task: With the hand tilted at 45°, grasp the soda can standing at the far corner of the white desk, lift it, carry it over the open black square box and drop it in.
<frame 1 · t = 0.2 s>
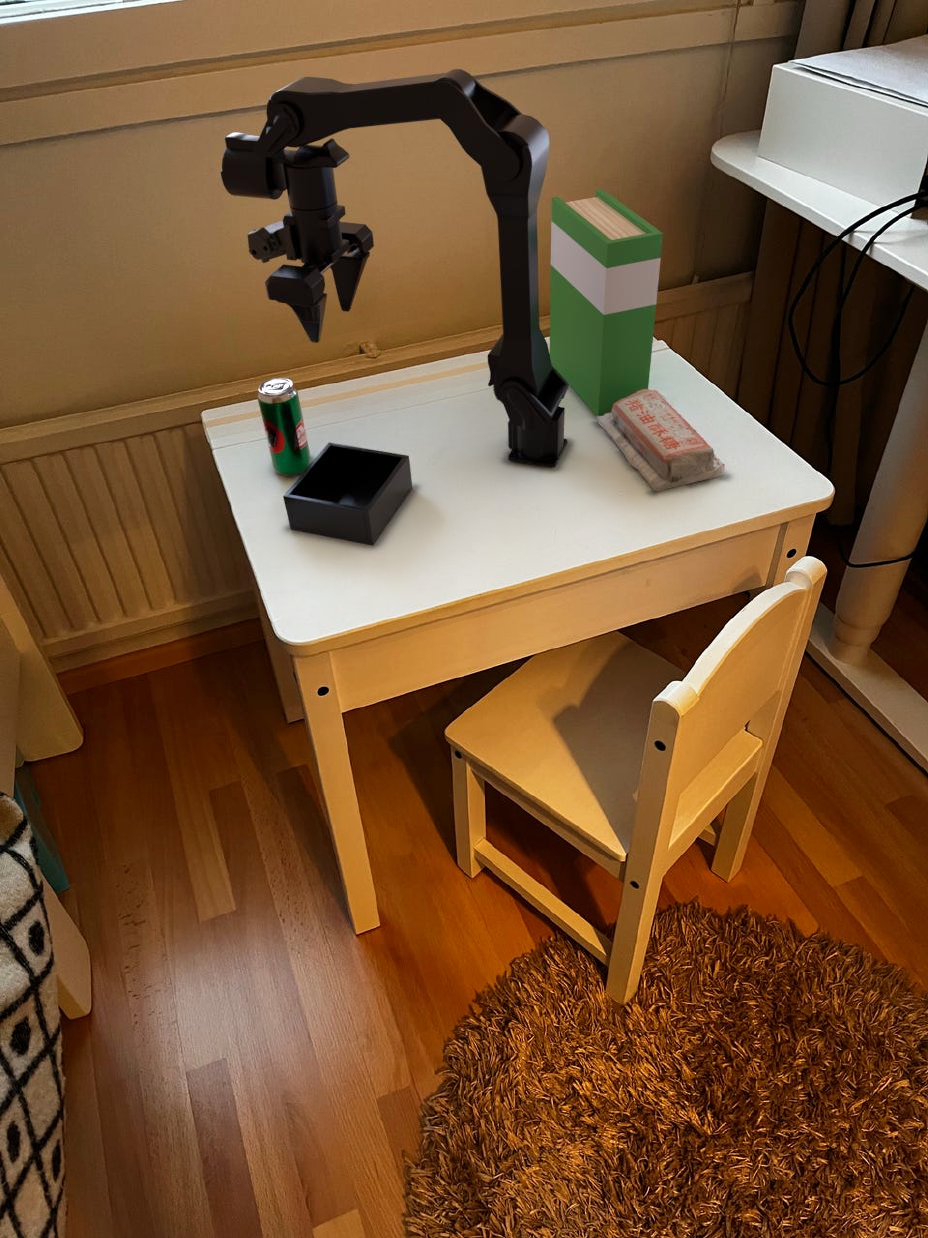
hand: (331, 325, 119), 15 cm above the table, tool pointing down, fingers open, 9 cm apart
soda can: (293, 468, 122), on the table
open black square box: (352, 508, 114), on the table
hardback book: (595, 384, 134), on the table
packaged product: (657, 450, 121), on the table
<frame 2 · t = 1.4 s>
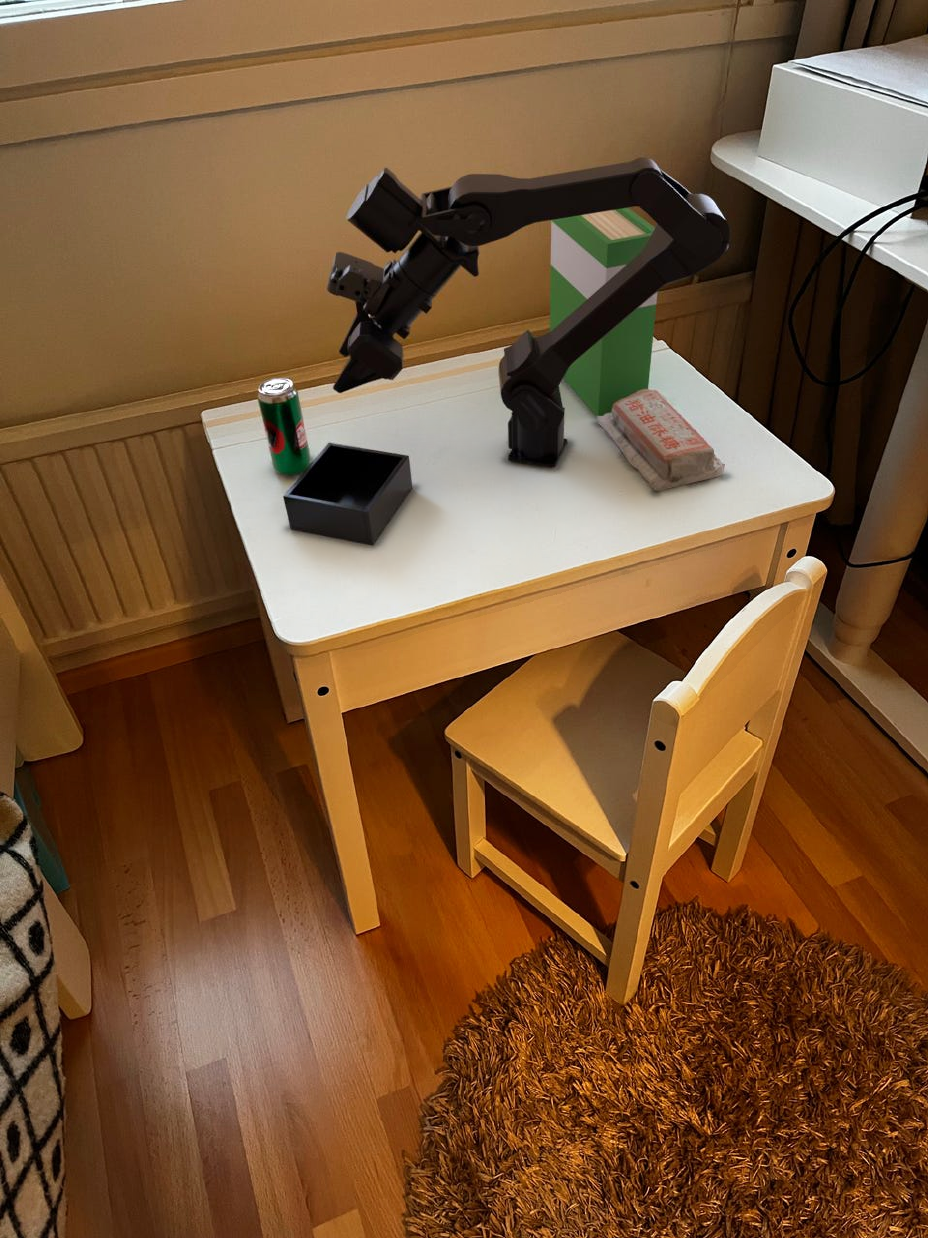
hand: (339, 371, 113), 13 cm above the table, tool tilted 45°, fingers open, 9 cm apart
nothing on the table moved.
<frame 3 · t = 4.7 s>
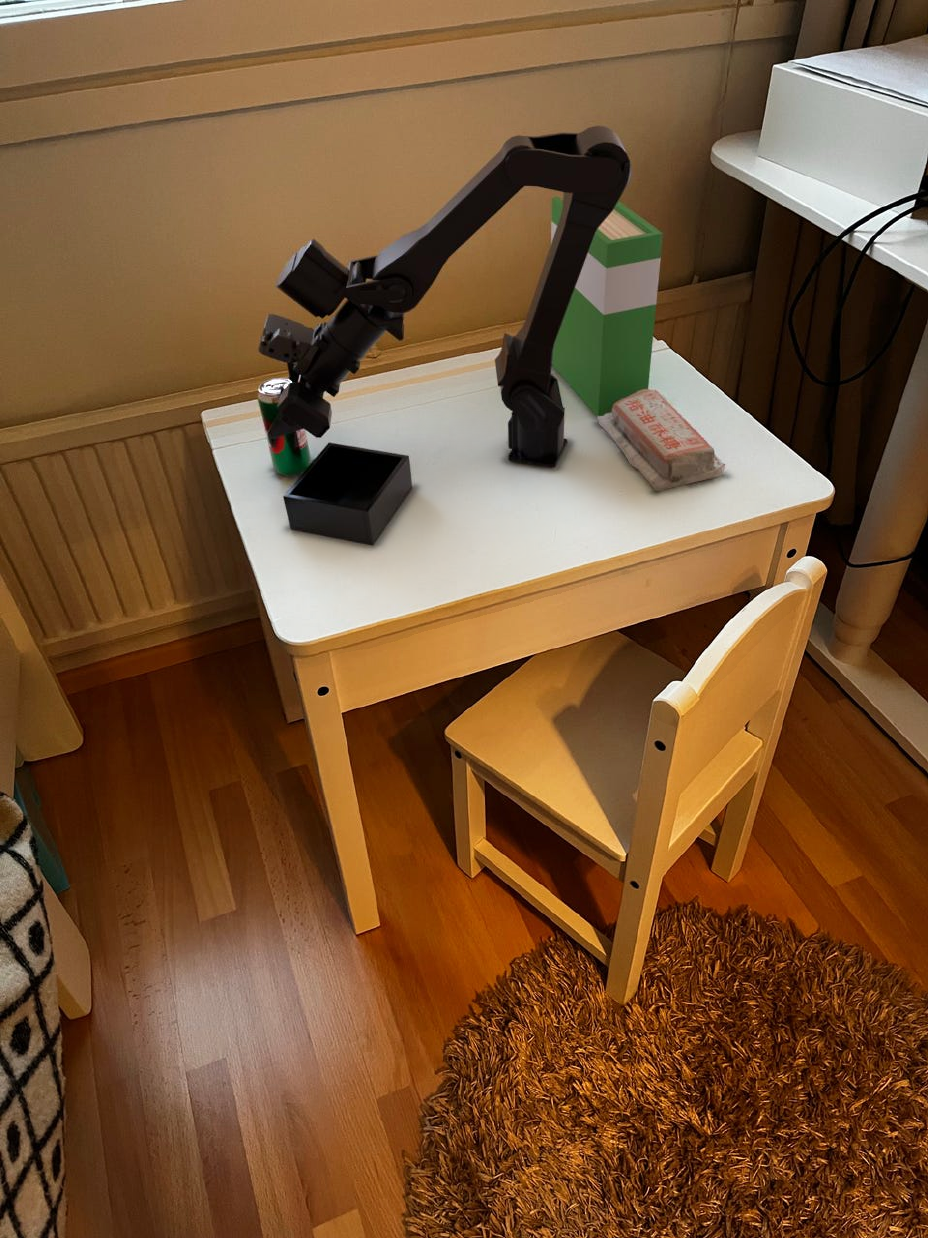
hand: (273, 424, 117), 7 cm above the table, tool tilted 45°, fingers closed on soda can, 5 cm apart
soda can: (293, 468, 122), on the table, touching gripper
everything else where it was.
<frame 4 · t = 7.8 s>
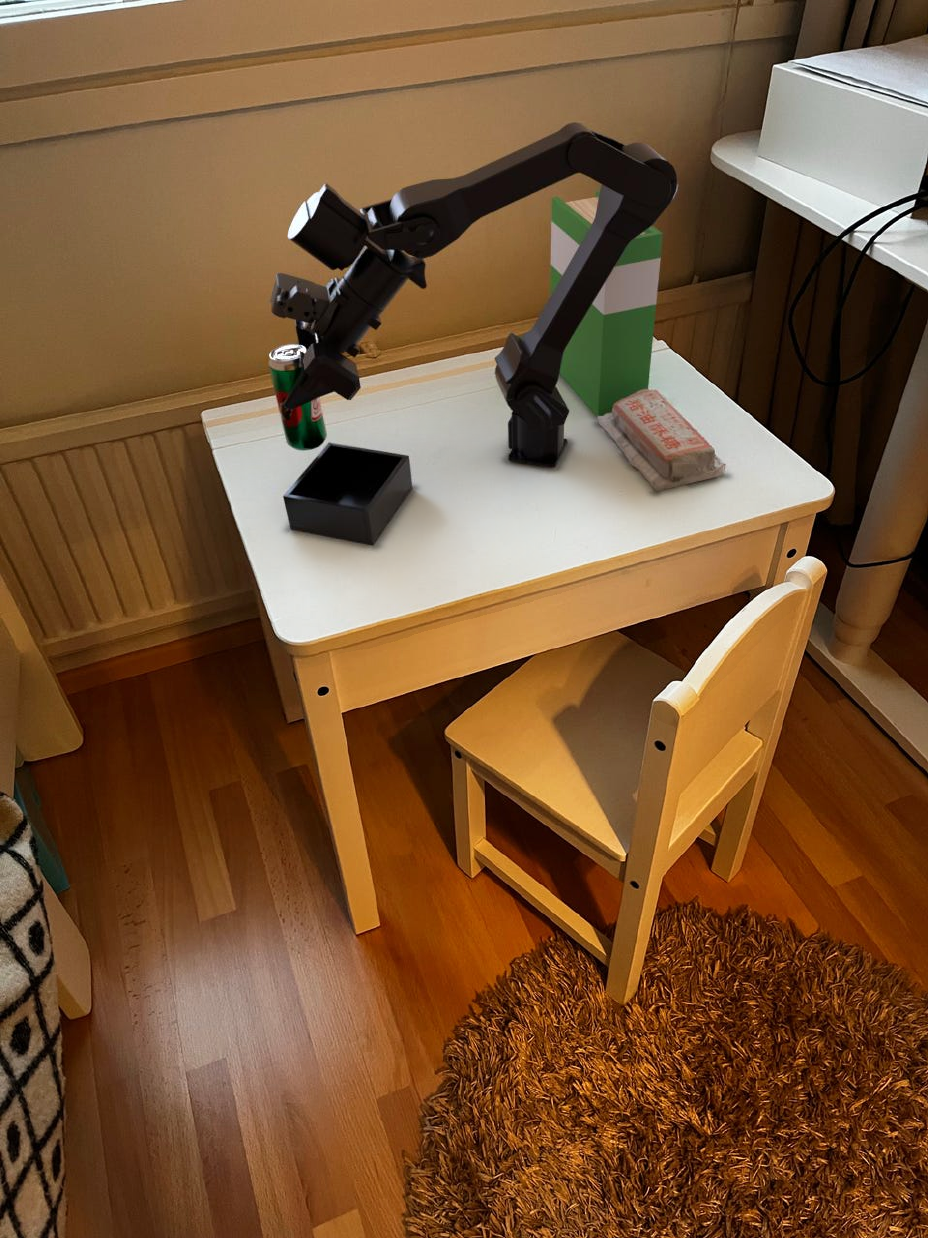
hand: (285, 396, 109), 13 cm above the table, tool tilted 45°, fingers closed on soda can, 5 cm apart
soda can: (307, 442, 114), point 7 cm above the table, touching gripper
everything else where it was.
when the fingers open (7 cm above the table, at t = 11.3 s): soda can stays where it is, resting on open black square box.
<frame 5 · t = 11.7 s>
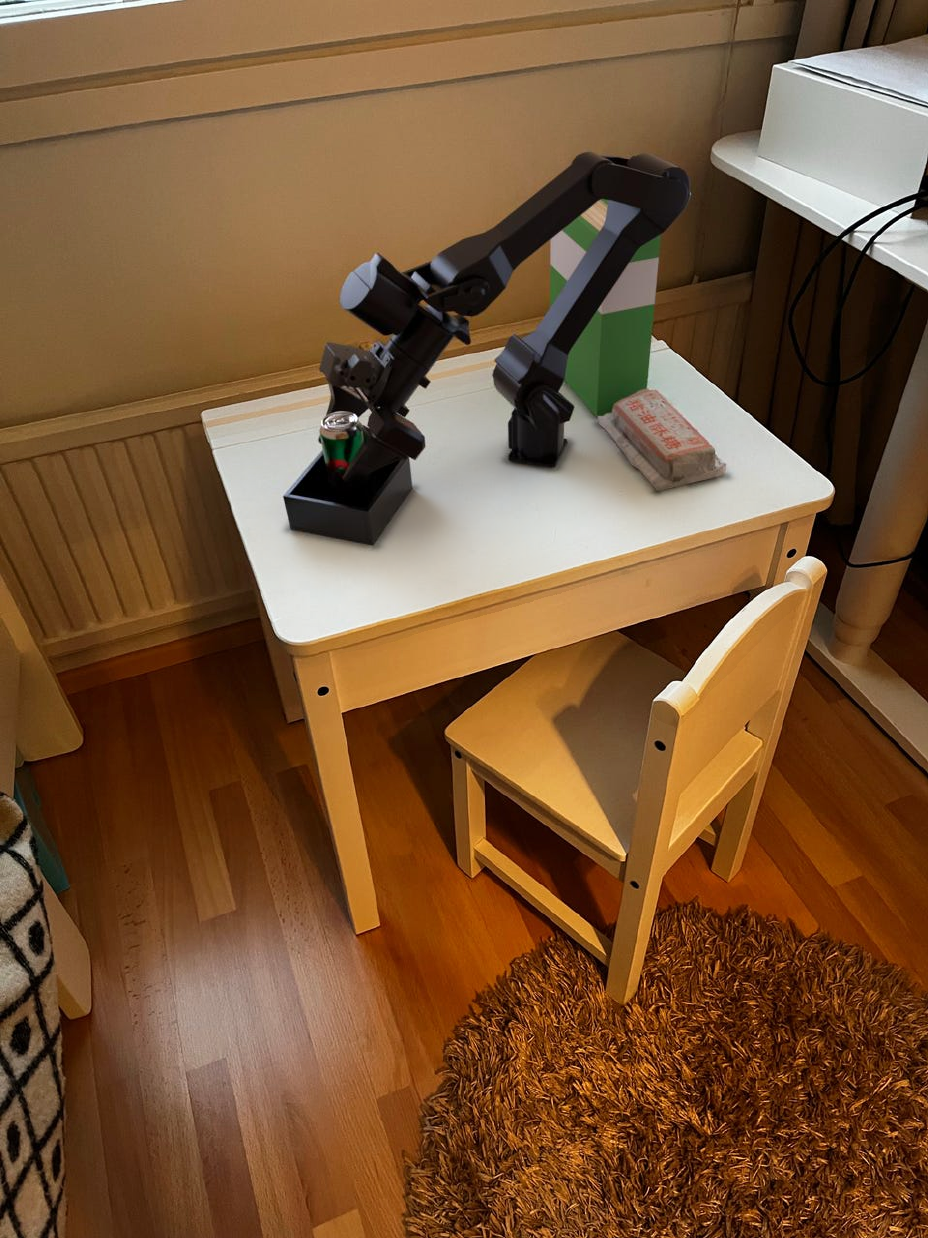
hand: (333, 461, 109), 7 cm above the table, tool tilted 45°, fingers open, 9 cm apart
soda can: (353, 505, 114), resting on open black square box
hardback book: (595, 384, 134), on the table, touching arm
everything else where it was.
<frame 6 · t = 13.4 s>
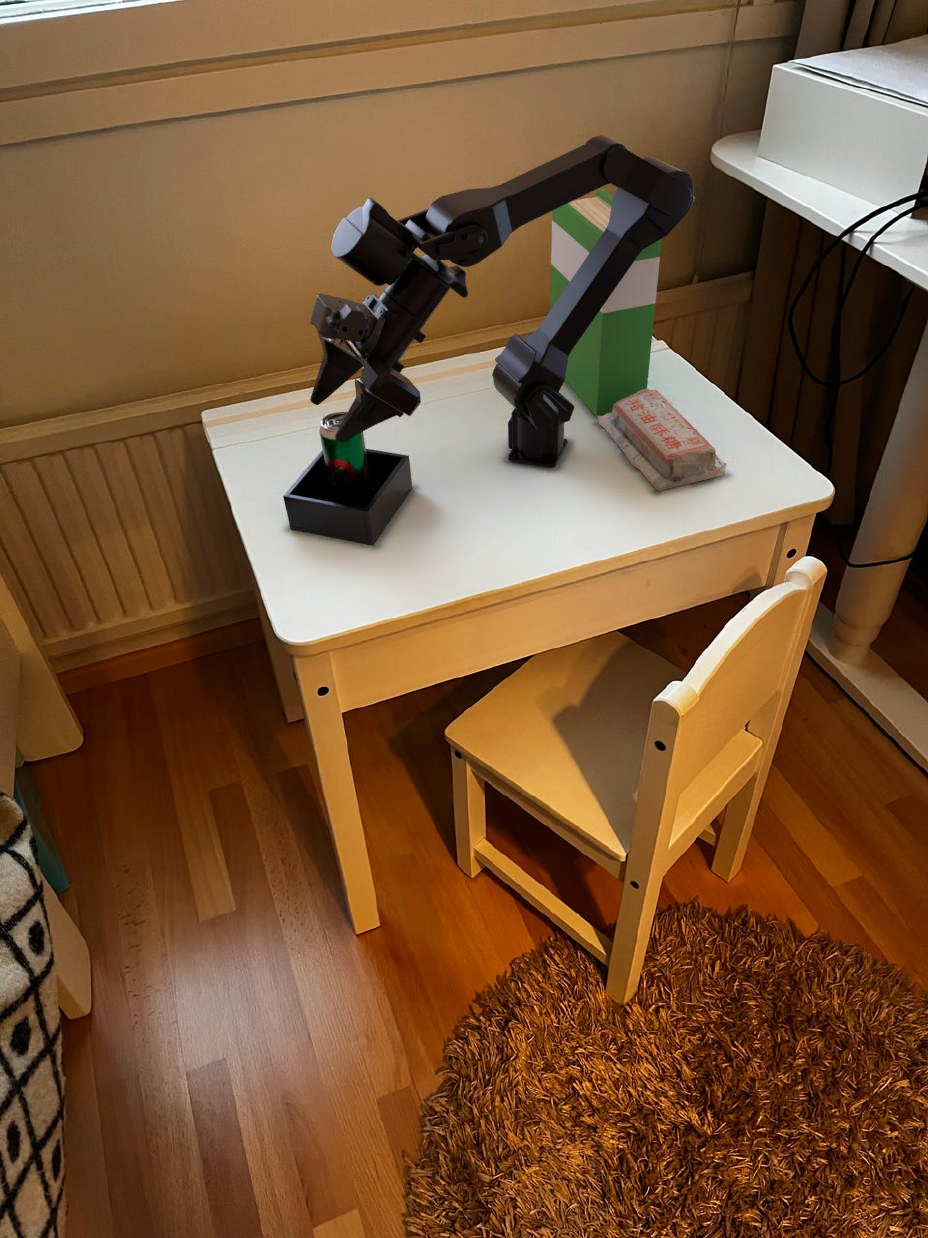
hand: (325, 420, 105), 13 cm above the table, tool tilted 45°, fingers open, 9 cm apart
nothing on the table moved.
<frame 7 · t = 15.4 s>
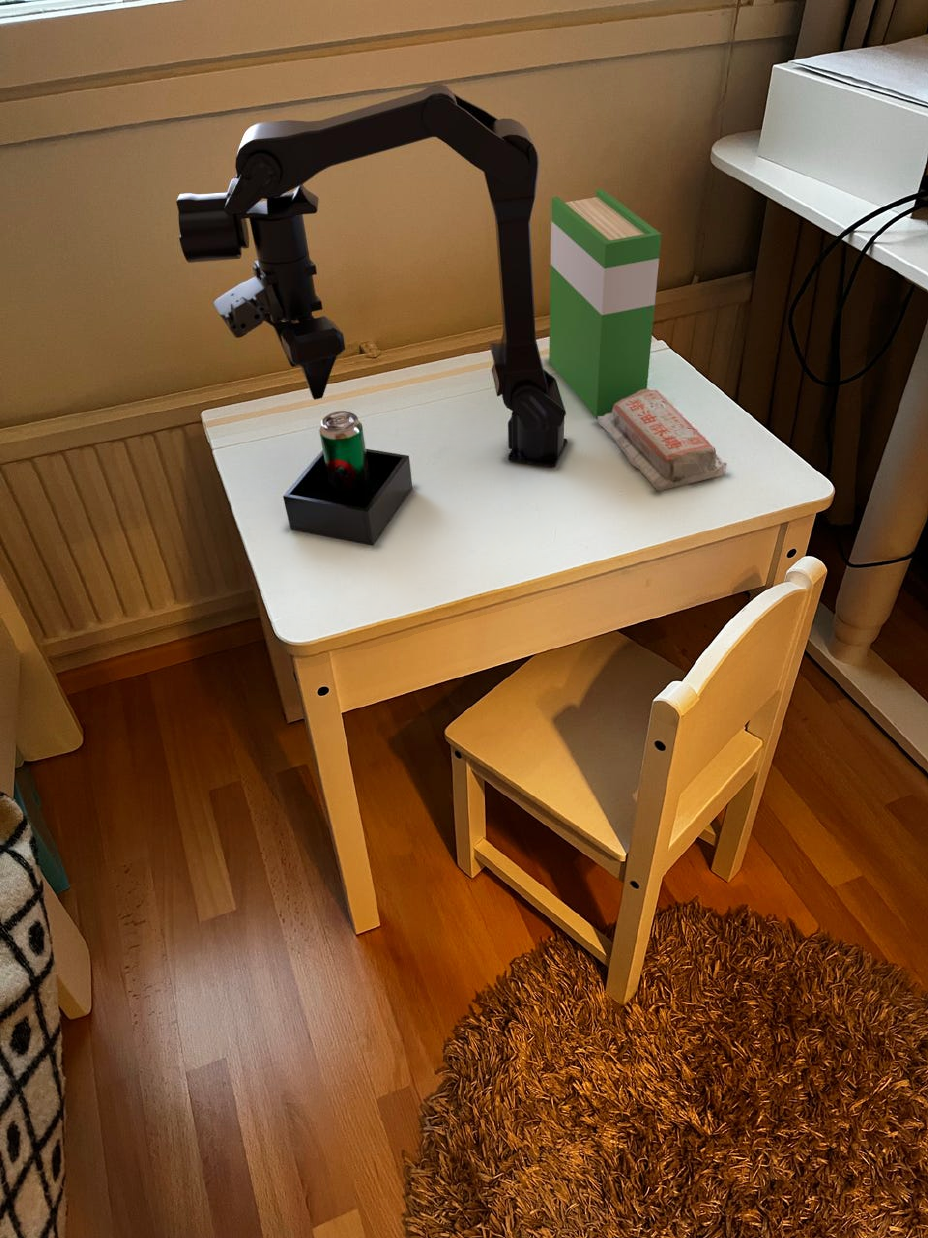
hand: (306, 381, 112), 13 cm above the table, tool pointing down, fingers open, 9 cm apart
hardback book: (595, 384, 134), on the table
everything else where it was.
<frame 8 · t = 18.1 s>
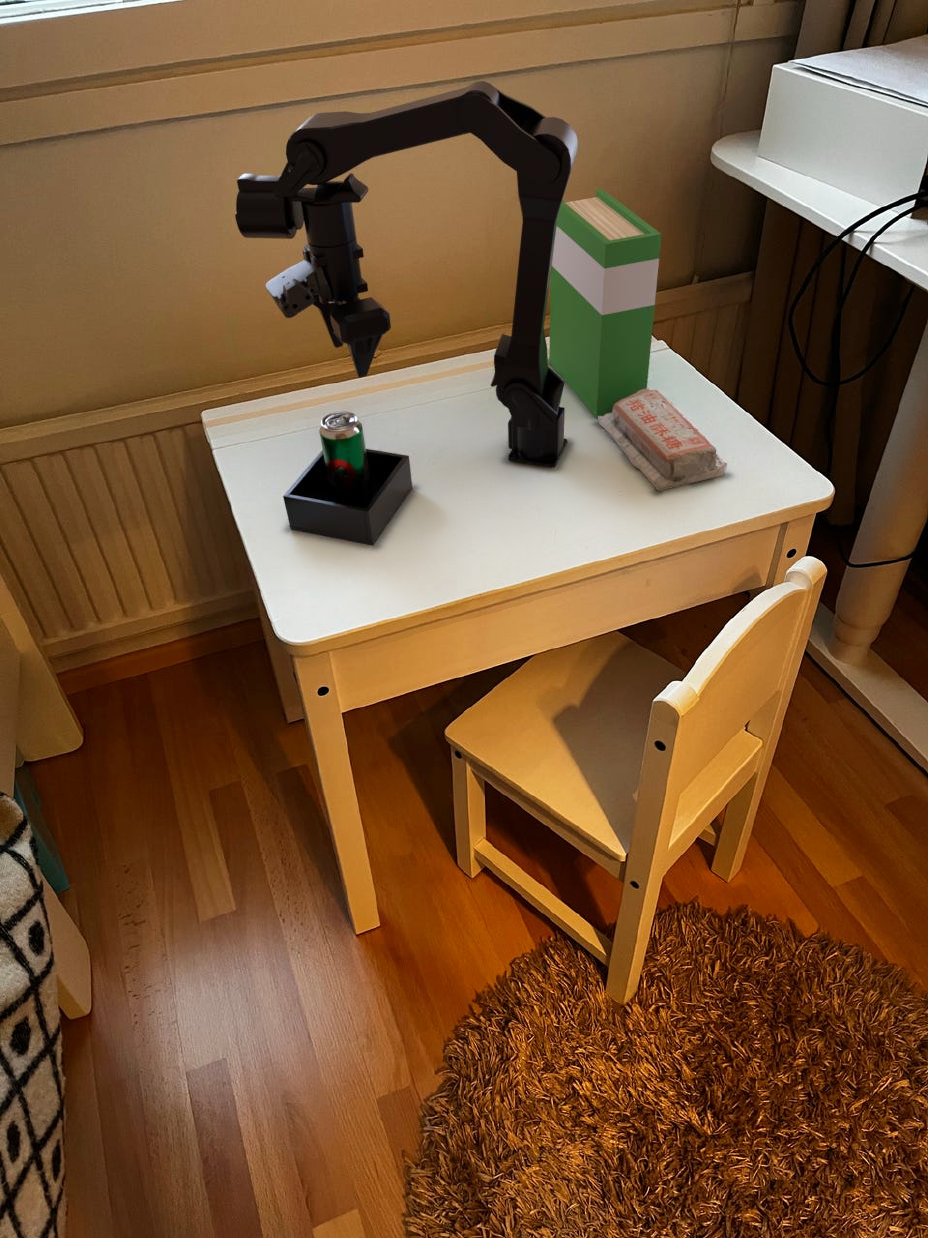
hand: (350, 361, 117), 12 cm above the table, tool pointing down, fingers open, 9 cm apart
nothing on the table moved.
at the end: soda can inside the target area in the open black square box (0.2 cm from its centre), point 0.3 cm above the open black square box's base; the gripper is holding nothing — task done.
